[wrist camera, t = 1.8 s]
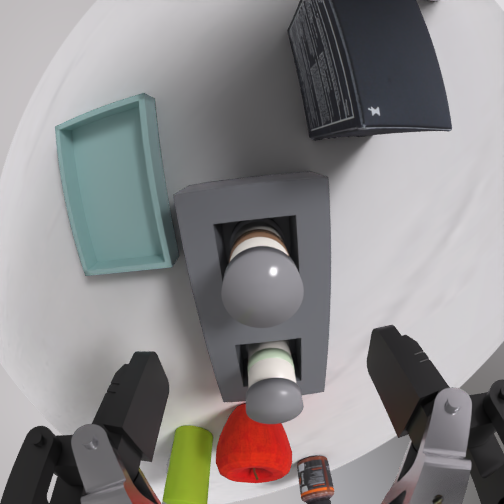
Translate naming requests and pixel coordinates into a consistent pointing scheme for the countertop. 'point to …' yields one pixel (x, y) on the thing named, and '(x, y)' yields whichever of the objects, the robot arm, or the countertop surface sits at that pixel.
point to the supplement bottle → (315, 480)
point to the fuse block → (272, 338)
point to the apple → (252, 450)
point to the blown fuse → (260, 276)
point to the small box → (367, 68)
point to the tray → (117, 188)
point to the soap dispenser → (189, 467)
